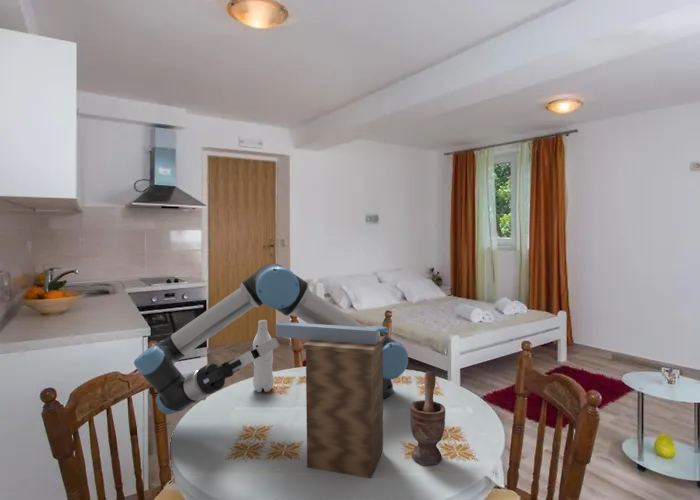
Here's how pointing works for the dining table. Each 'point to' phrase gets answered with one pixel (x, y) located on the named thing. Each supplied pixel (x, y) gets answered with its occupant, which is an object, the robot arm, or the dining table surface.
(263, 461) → the dining table surface
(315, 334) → the bar
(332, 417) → the stand
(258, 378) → the water bottle
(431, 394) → the mortar and pestle
